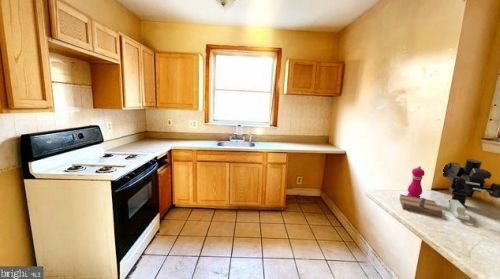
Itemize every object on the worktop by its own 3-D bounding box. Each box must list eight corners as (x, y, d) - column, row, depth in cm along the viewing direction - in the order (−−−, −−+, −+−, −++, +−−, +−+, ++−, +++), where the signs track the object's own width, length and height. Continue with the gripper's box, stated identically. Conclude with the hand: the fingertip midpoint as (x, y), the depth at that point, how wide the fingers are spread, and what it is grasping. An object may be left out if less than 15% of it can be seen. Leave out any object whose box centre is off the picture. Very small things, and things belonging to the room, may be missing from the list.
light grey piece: (446, 208, 119) (449, 198, 118) (457, 211, 117) (459, 200, 116) (456, 221, 106) (458, 210, 105) (468, 224, 104) (471, 212, 103)
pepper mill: (403, 195, 134) (408, 164, 130) (411, 194, 136) (417, 163, 133) (415, 200, 127) (421, 168, 124) (423, 199, 129) (430, 167, 126)
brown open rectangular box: (399, 199, 129) (401, 187, 127) (433, 205, 121) (436, 193, 120) (402, 209, 116) (405, 196, 115) (440, 217, 109) (443, 203, 108)
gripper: (451, 163, 115) (461, 173, 102) (501, 170, 106) (519, 183, 93) (446, 182, 118) (455, 195, 105) (494, 190, 109) (510, 206, 96)
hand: (483, 194), depth 99 cm, fingers open, 9 cm apart
